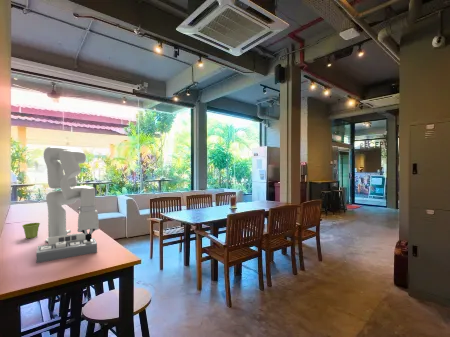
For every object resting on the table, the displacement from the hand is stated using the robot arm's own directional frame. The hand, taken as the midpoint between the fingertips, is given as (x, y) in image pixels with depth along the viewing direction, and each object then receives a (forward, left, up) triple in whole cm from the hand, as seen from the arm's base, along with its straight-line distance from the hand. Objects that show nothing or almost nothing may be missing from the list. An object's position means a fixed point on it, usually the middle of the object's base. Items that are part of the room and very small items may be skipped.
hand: (88, 240), depth 141 cm
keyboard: (+6, -8, -6) cm, 11 cm away
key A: (+12, -15, -3) cm, 20 cm away
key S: (+8, -10, -2) cm, 13 cm away
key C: (+4, -5, -3) cm, 7 cm away
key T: (0, 0, -3) cm, 3 cm away
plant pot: (-19, -54, -6) cm, 57 cm away
